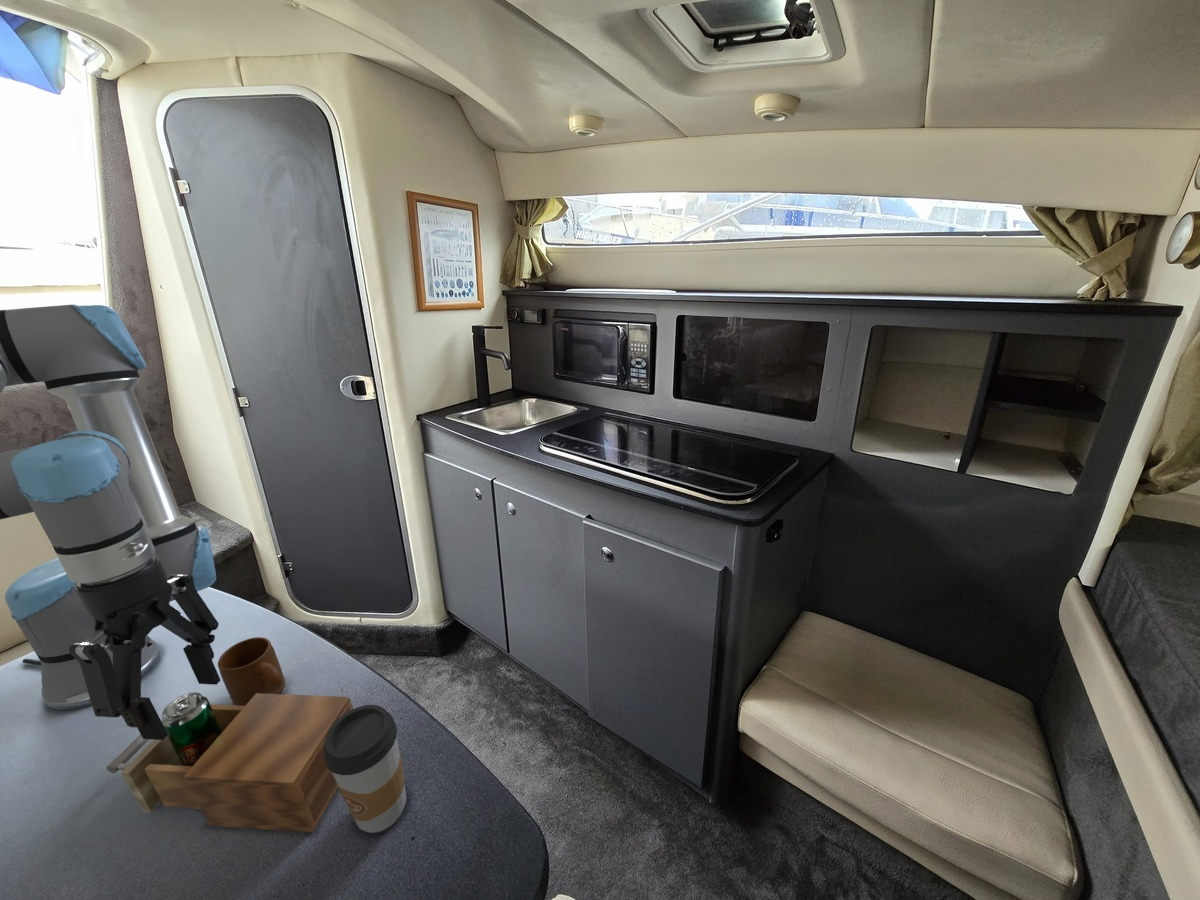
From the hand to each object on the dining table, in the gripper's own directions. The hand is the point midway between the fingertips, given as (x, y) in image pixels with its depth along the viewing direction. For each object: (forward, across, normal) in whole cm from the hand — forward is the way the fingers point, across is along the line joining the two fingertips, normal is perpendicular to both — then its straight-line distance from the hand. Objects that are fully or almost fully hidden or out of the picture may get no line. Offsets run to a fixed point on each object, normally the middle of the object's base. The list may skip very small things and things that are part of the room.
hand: (184, 707), depth 67 cm
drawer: (+13, 0, +1) cm, 13 cm away
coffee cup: (+14, -3, -27) cm, 30 cm away
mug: (+14, +13, +2) cm, 19 cm away
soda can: (+12, 0, 0) cm, 12 cm away
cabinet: (+13, 0, -12) cm, 18 cm away
